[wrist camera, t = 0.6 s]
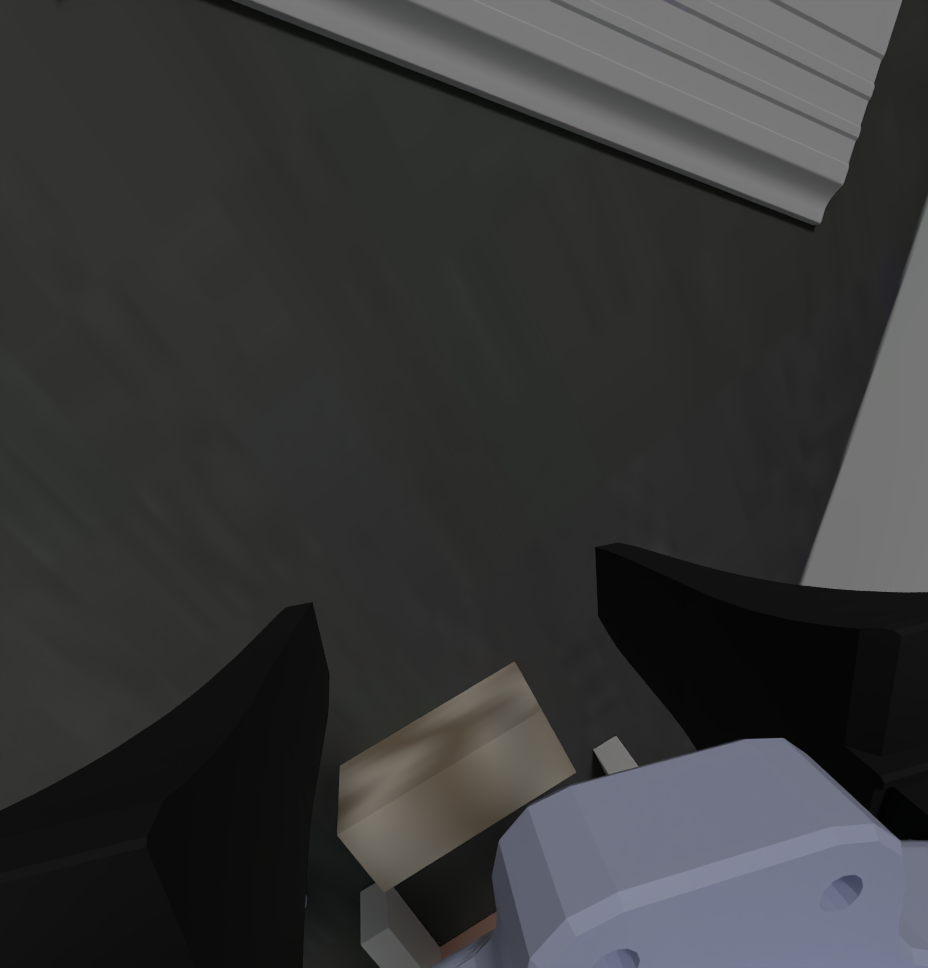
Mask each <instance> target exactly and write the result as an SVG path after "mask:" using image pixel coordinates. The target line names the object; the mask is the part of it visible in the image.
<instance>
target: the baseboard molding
mask: <svg viewBox="0 0 928 968" xmlns="http://www.w3.org/2000/svg"><path fill="white" fill-rule="evenodd" d="M232 1H235V2H237V3H240V4H243V5H245V6H248V7H250V8H253V9H256V10H258V11H261V12H263V13H266V14H268V15H271V16H274V17H276V18H279V19H281V20H284V21H287V22H289V23H292V24H294V25H297V26H299V27H302V28H305V29H307V30H310V31H312V32H315V33H318V34H320V35H323V36H325V37H328V38H330V39H333V40H336V41H338V42H341V43H343V44H346V45H349V46H351V47H354V48H356V49H359V50H361V51H364V52H367V53H369V54H372V55H374V56H377V57H380V58H382V59H385V60H387V61H390V62H393V63H395V64H398V65H400V66H403V67H405V68H408V69H411V70H413V71H416V72H418V73H421V74H424V75H426V76H429V77H431V78H434V79H436V80H439V81H442V82H444V83H447V84H449V85H452V86H455V87H457V88H460V89H462V90H465V91H467V92H470V93H473V94H475V95H478V96H480V97H483V98H486V99H488V100H491V101H493V102H496V103H499V104H501V105H504V106H506V107H509V108H511V109H514V110H517V111H519V112H522V113H524V114H527V115H530V116H532V117H535V118H537V119H540V120H542V121H545V122H548V123H550V124H553V125H555V126H558V127H561V128H563V129H566V130H568V131H571V132H573V133H576V134H579V135H581V136H584V137H586V138H589V139H592V140H594V141H597V142H599V143H602V144H605V145H607V146H610V147H612V148H615V149H617V150H620V151H623V152H625V153H628V154H630V155H633V156H636V157H638V158H641V159H643V160H646V161H648V162H651V163H654V164H656V165H659V166H661V167H664V168H667V169H669V170H672V171H674V172H677V173H679V174H682V175H685V176H687V177H690V178H692V179H695V180H698V181H700V182H703V183H705V184H708V185H711V186H713V187H716V188H718V189H721V190H723V191H726V192H729V193H731V194H734V195H736V196H739V197H742V198H744V199H747V200H749V201H752V202H754V203H757V204H760V205H762V206H765V207H767V208H770V209H773V210H775V211H778V212H780V213H783V214H785V215H788V216H791V217H793V218H796V219H798V220H801V221H804V222H806V223H809V224H811V225H814V226H815V225H818V224H820V223H821V220H822V217H823V214H824V210H825V208H826V205H827V204H828V202H829V200H830V199H831V198H832V196H833V195H834V194H835V193H836V192H837V191H838V189H839V188H840V187H841V186H842V185H843V184H844V181H845V178H846V174H847V171H848V168H849V165H848V163H849V160H850V157H851V153H852V150H853V147H854V144H855V141H856V140H857V139H858V137H859V134H860V131H861V127H860V125H861V122H862V119H863V116H864V113H865V109H866V106H867V103H868V101H869V99H870V98H871V96H872V93H873V90H874V87H875V85H874V81H875V78H876V75H877V72H878V69H879V66H880V62H881V60H882V58H883V57H884V55H885V52H886V49H887V46H888V43H889V40H890V36H891V33H892V30H893V27H894V24H895V21H896V18H897V14H898V11H899V8H900V5H901V2H902V0H232Z"/></svg>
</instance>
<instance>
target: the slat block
mask: <svg viewBox="0 0 928 968" xmlns="http://www.w3.org/2000/svg"><path fill="white" fill-rule="evenodd" d="M574 773H576V771H575V769H574V768H573V766H572V764H571V762H570V760H569V758H568V757H567V755H566V753H565V751H564V749H563V748H562V746H561V744H560V742H559V740H558V739H557V737H556V735H555V733H554V731H553V730H552V728H551V726H550V724H549V722H548V721H547V719H546V717H545V715H544V713H543V712H542V710H541V708H540V706H539V704H538V703H537V701H536V699H535V697H534V695H533V694H532V692H531V690H530V688H529V686H528V685H527V683H526V681H525V679H524V677H523V676H522V674H521V672H520V670H519V668H518V667H517V665H516V663H515V662H513V663H511V664H510V665H508V666H506V667H505V668H503V669H501V670H500V671H498V672H496V673H495V674H493V675H491V676H490V677H488V678H486V679H485V680H483V681H481V682H480V683H478V684H476V685H474V686H473V687H471V688H469V689H468V690H466V691H464V692H463V693H461V694H459V695H458V696H456V697H454V698H453V699H451V700H449V701H448V702H446V703H444V704H443V705H441V706H439V707H438V708H436V709H434V710H433V711H431V712H429V713H428V714H426V715H424V716H423V717H421V718H419V719H418V720H416V721H414V722H413V723H411V724H409V725H408V726H406V727H404V728H403V729H401V730H399V731H397V732H396V733H394V734H392V735H391V736H389V737H387V738H386V739H384V740H382V741H381V742H379V743H377V744H376V745H374V746H372V747H371V748H369V749H367V750H366V751H364V752H362V753H361V754H359V755H357V756H356V757H354V758H352V759H351V760H349V761H347V762H346V763H344V764H342V765H341V766H340V775H339V799H338V823H337V836H338V837H339V838H340V839H341V841H342V842H343V843H344V844H345V846H346V847H347V848H348V849H349V851H350V852H351V853H352V854H353V855H354V857H355V858H356V859H357V860H358V862H359V863H360V864H361V865H362V867H363V868H364V869H365V870H366V872H367V873H368V874H369V875H370V876H371V878H372V879H373V880H374V881H375V883H376V884H377V885H378V886H379V888H380V889H381V890H382V891H383V892H386V891H388V890H389V889H391V888H392V887H394V886H396V885H397V884H399V883H400V882H402V881H404V880H405V879H407V878H408V877H410V876H412V875H413V874H415V873H416V872H418V871H420V870H421V869H423V868H424V867H426V866H427V865H429V864H431V863H432V862H434V861H435V860H437V859H439V858H440V857H442V856H443V855H445V854H447V853H448V852H450V851H451V850H453V849H455V848H456V847H458V846H459V845H461V844H463V843H464V842H466V841H467V840H469V839H471V838H472V837H474V836H475V835H477V834H479V833H480V832H482V831H483V830H485V829H486V828H488V827H490V826H491V825H493V824H494V823H496V822H498V821H499V820H501V819H502V818H504V817H506V816H507V815H509V814H510V813H512V812H514V811H515V810H517V809H518V808H520V807H522V806H523V805H525V804H526V803H528V802H530V801H531V800H533V799H534V798H536V797H538V796H539V795H541V794H542V793H544V792H545V791H547V790H549V789H550V788H552V787H553V786H555V785H557V784H558V783H560V782H561V781H563V780H565V779H566V778H568V777H569V776H571V775H573V774H574Z"/></svg>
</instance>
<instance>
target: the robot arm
mask: <svg viewBox="0 0 928 968" xmlns="http://www.w3.org/2000/svg"><path fill="white" fill-rule="evenodd" d="M595 553H596V576H597V599H598V617H599V618H600V620H601V622H602V624H603V625H604V627H605V629H606V630H607V632H608V634H609V635H610V637H611V639H612V640H613V642H614V643H615V645H616V647H617V648H618V649H619V651H620V652H621V653H622V654H623V656H624V657H625V658H626V659H627V661H628V662H629V663H630V664H631V665H632V667H633V668H634V669H635V670H636V672H637V673H638V674H639V675H640V676H641V678H642V679H643V680H644V681H645V682H646V684H647V685H648V686H649V687H650V689H651V690H652V691H653V692H654V693H655V695H656V696H657V697H658V698H659V699H660V701H661V702H662V703H663V704H664V705H665V707H666V708H667V709H668V710H669V711H670V713H671V714H672V715H673V717H674V718H675V719H676V720H677V722H678V723H679V724H680V726H681V727H682V728H683V730H684V731H685V733H686V734H687V736H688V737H689V739H690V740H691V742H692V743H693V745H694V746H695V748H696V749H697V751H695V752H691V753H687V754H684V755H680V756H676V757H672V758H669V759H665V760H661V761H657V762H654V763H650V764H646V765H642V766H639V767H635V768H631V769H627V770H624V771H620V772H616V773H612V774H609V775H605V776H601V777H597V778H594V779H590V780H586V781H583V782H579V783H575V784H571V785H568V786H565V787H563V788H561V789H559V790H557V791H555V792H553V793H551V794H549V795H547V796H545V797H543V798H541V799H539V800H537V801H535V802H533V803H531V804H530V805H529V806H528V807H527V808H526V809H525V810H524V811H523V813H522V814H521V815H520V816H519V817H518V818H517V820H516V821H515V822H514V823H513V824H512V825H511V827H510V828H509V829H508V830H507V831H506V832H505V834H504V835H503V836H502V837H501V839H500V840H499V843H498V848H497V853H496V858H495V863H494V868H493V873H492V882H493V889H494V896H495V903H496V910H497V916H496V928H495V929H493V930H491V931H490V932H488V933H486V934H484V935H483V936H481V937H479V938H478V939H476V940H474V941H472V942H471V943H469V944H467V945H466V946H464V947H462V948H461V949H459V950H457V951H455V952H454V953H452V954H450V955H449V956H447V957H445V958H443V959H442V960H440V961H438V962H437V963H435V964H433V965H431V966H430V967H428V968H928V592H917V593H912V592H911V593H902V592H899V593H898V592H875V591H855V590H841V589H829V588H820V587H811V586H802V585H794V584H787V583H780V582H774V581H769V580H763V579H757V578H752V577H747V576H742V575H737V574H733V573H728V572H724V571H720V570H716V569H712V568H708V567H705V566H701V565H697V564H694V563H690V562H687V561H683V560H680V559H676V558H673V557H670V556H666V555H663V554H660V553H656V552H653V551H649V550H646V549H643V548H639V547H635V546H631V545H627V544H621V543H614V544H609V545H604V546H599V547H595ZM328 707H329V670H328V666H327V662H326V658H325V653H324V649H323V645H322V641H321V637H320V632H319V628H318V624H317V620H316V615H315V611H314V607H313V603H312V602H311V603H306V604H301V605H295V606H290V607H286V608H285V609H284V610H282V611H281V612H280V613H279V614H278V615H277V616H276V617H275V618H274V619H273V620H272V621H271V622H270V623H269V624H268V625H267V626H266V627H265V628H264V629H263V630H262V631H261V632H260V633H259V634H258V635H257V636H256V637H255V638H254V639H253V640H252V641H251V642H250V643H249V644H248V645H247V646H246V647H245V648H244V649H243V650H242V651H241V652H240V653H239V654H238V655H237V656H236V657H235V658H234V659H233V660H232V661H231V662H230V663H228V664H227V665H226V666H225V667H224V668H223V669H222V670H221V671H220V672H219V673H217V674H216V675H215V676H214V677H213V678H212V679H211V680H210V681H209V682H207V683H206V684H205V685H204V686H203V687H201V688H200V689H199V690H198V691H197V692H195V693H194V694H193V695H192V696H190V697H189V698H188V699H186V700H185V701H184V702H182V703H181V704H180V705H179V706H177V707H176V708H175V709H173V710H172V711H171V712H169V713H168V714H166V715H165V716H164V717H162V718H161V719H159V720H158V721H156V722H155V723H153V724H152V725H150V726H149V727H147V728H146V729H144V730H143V731H141V732H140V733H138V734H137V735H135V736H134V737H132V738H131V739H129V740H128V741H126V742H125V743H123V744H122V745H120V746H119V747H117V748H115V749H114V750H112V751H111V752H109V753H107V754H106V755H104V756H102V757H100V758H99V759H97V760H95V761H94V762H92V763H90V764H89V765H87V766H85V767H83V768H82V769H80V770H78V771H76V772H74V773H73V774H71V775H69V776H67V777H65V778H64V779H62V780H60V781H58V782H56V783H55V784H53V785H51V786H49V787H47V788H45V789H43V790H41V791H39V792H37V793H36V794H34V795H32V796H29V797H27V798H25V799H23V800H21V801H19V802H17V803H15V804H13V805H11V806H9V807H7V808H5V809H3V810H1V811H0V968H302V967H303V940H304V920H305V908H306V905H307V896H306V882H307V866H308V851H309V836H310V824H311V816H312V808H313V802H314V796H315V790H316V784H317V778H318V772H319V766H320V760H321V754H322V749H323V743H324V736H325V730H326V724H327V718H328Z"/></svg>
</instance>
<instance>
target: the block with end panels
mask: <svg viewBox="0 0 928 968" xmlns="http://www.w3.org/2000/svg"><path fill="white" fill-rule="evenodd" d="M593 750H594V752H595V754H596V756H597V758H598V760H599V762H600V764H601V766H602V768H603V770H604V772H605V774H606V775H609V774H612V773H616V772H620V771H624V770H627V769H631V768H635V767H638V765H637V764H636V763H635V761H634V760H633V759H632V757H631V756H630V754H629V753H628V752H627V750H626V749H625V747H624V746H623V745H622V743H621V742H620V740H619V739H618V738H617V736H615V737H613V738H611V739H610V740H608V741H606V742H605V743H603V744H602V745H600V746H598V747H597V748H595V749H593ZM496 916H497V911H496V912H495V913H493V914H491V915H490V916H488V917H487V918H485V919H483V920H482V921H480V922H479V923H477V924H476V925H474V926H472V927H471V928H469V929H468V930H466V931H465V932H463V933H461V934H460V935H458V936H457V937H455V938H453V939H452V940H450V941H449V942H447V943H446V944H444V945H442V946H441V947H439V946H438V944H437V943H436V942H435V940H434V939H433V938H432V936H431V935H430V934H429V933H428V931H427V930H426V929H425V927H424V926H423V925H422V923H421V922H420V921H419V920H418V918H417V917H416V916H415V914H414V913H413V912H412V910H411V909H410V908H409V907H408V905H407V904H406V903H405V901H404V900H403V899H402V898H401V896H400V895H399V894H398V892H397V891H396V890H395V888H394V887H392V888H391V889H389V890H388V891H386V892H383V891H382V890H381V889H380V888H379V886H378V885H377V884H376V883H374V884H373V885H371V886H369V887H368V888H366V889H364V890H363V891H361V892H360V918H361V946H362V947H363V948H364V949H365V950H366V952H367V953H368V954H369V955H370V956H371V958H372V959H373V960H374V961H375V962H376V963H377V965H378V966H379V967H380V968H428V967H430V966H431V965H433V964H435V963H437V962H438V961H440V960H442V959H443V958H445V957H447V956H449V955H450V954H452V953H454V952H455V951H457V950H459V949H461V948H462V947H464V946H466V945H467V944H469V943H471V942H472V941H474V940H476V939H478V938H479V937H481V936H483V935H484V934H486V933H488V932H490V931H491V930H493V929H495V928H496Z"/></svg>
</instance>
